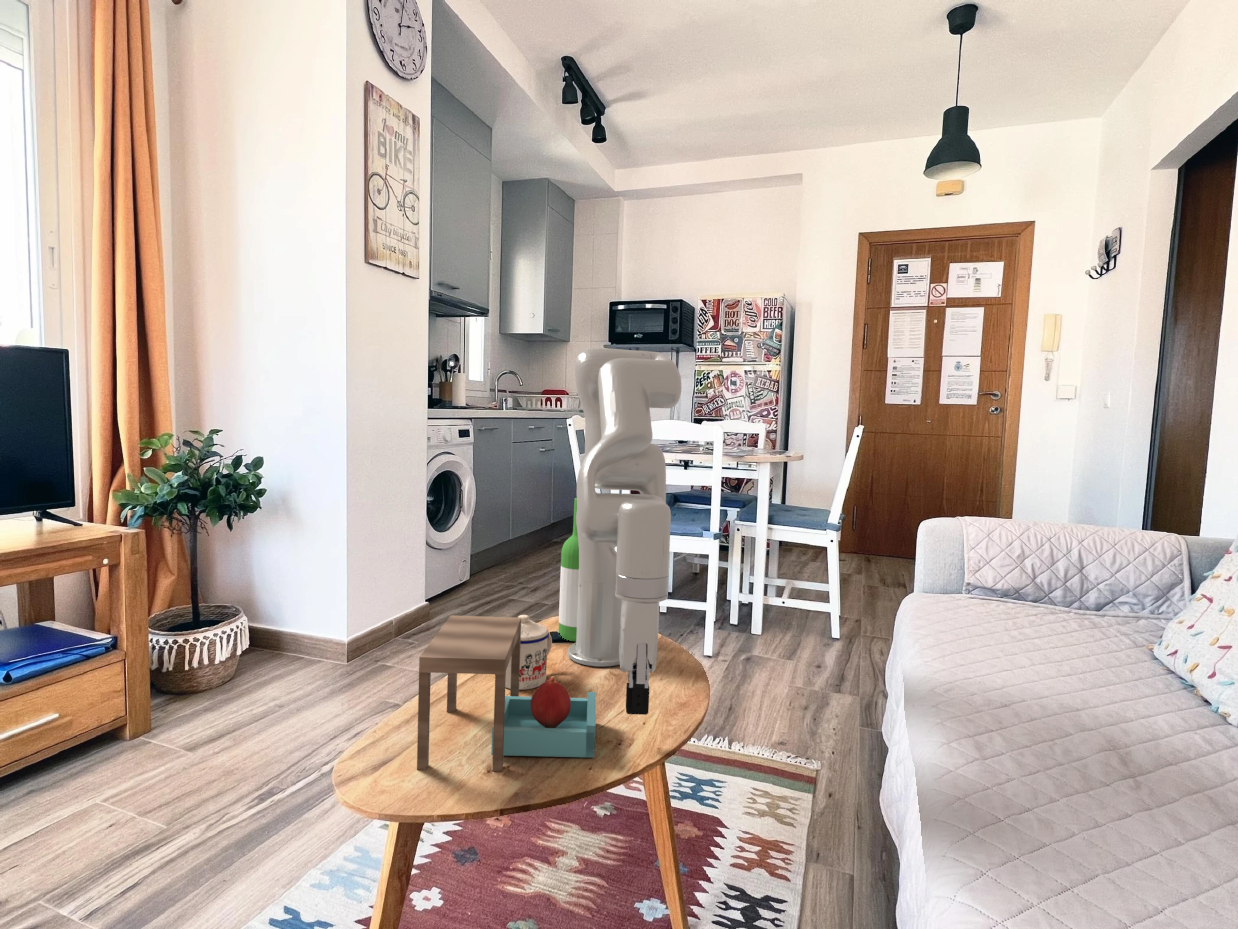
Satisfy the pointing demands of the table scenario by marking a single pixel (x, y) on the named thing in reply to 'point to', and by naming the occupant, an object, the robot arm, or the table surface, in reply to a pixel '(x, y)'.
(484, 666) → the wooden stool
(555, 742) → the shelf tray
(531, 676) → the teacup with lid
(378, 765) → the table surface
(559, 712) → the onion
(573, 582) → the wine bottle
